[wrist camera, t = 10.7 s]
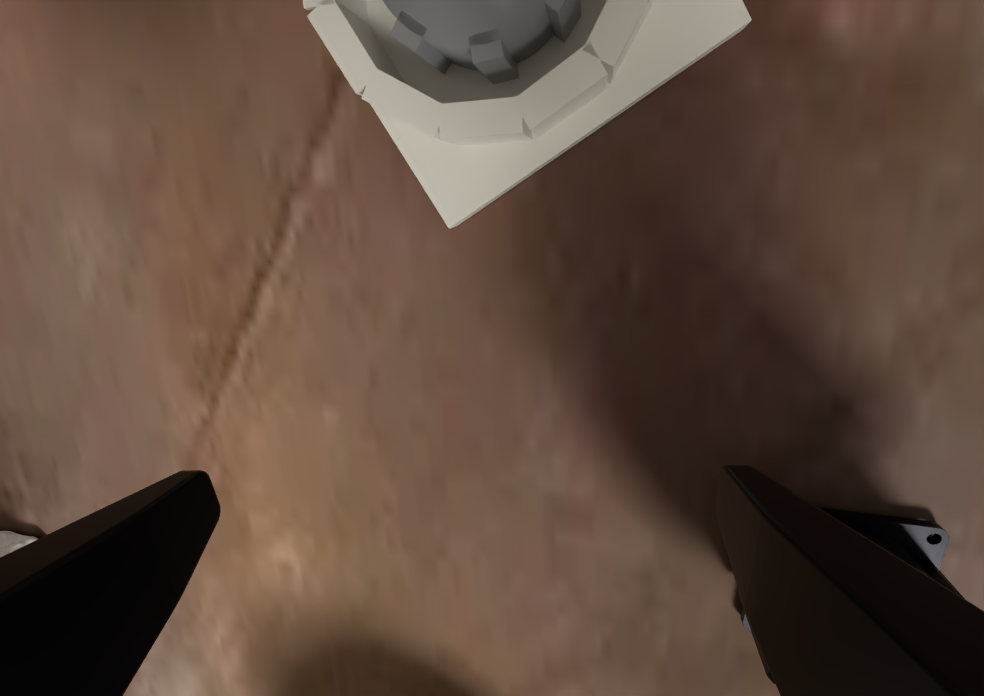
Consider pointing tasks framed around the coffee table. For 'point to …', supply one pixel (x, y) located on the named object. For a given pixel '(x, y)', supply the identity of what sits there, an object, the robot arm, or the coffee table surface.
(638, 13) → the housing
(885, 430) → the coffee table surface
